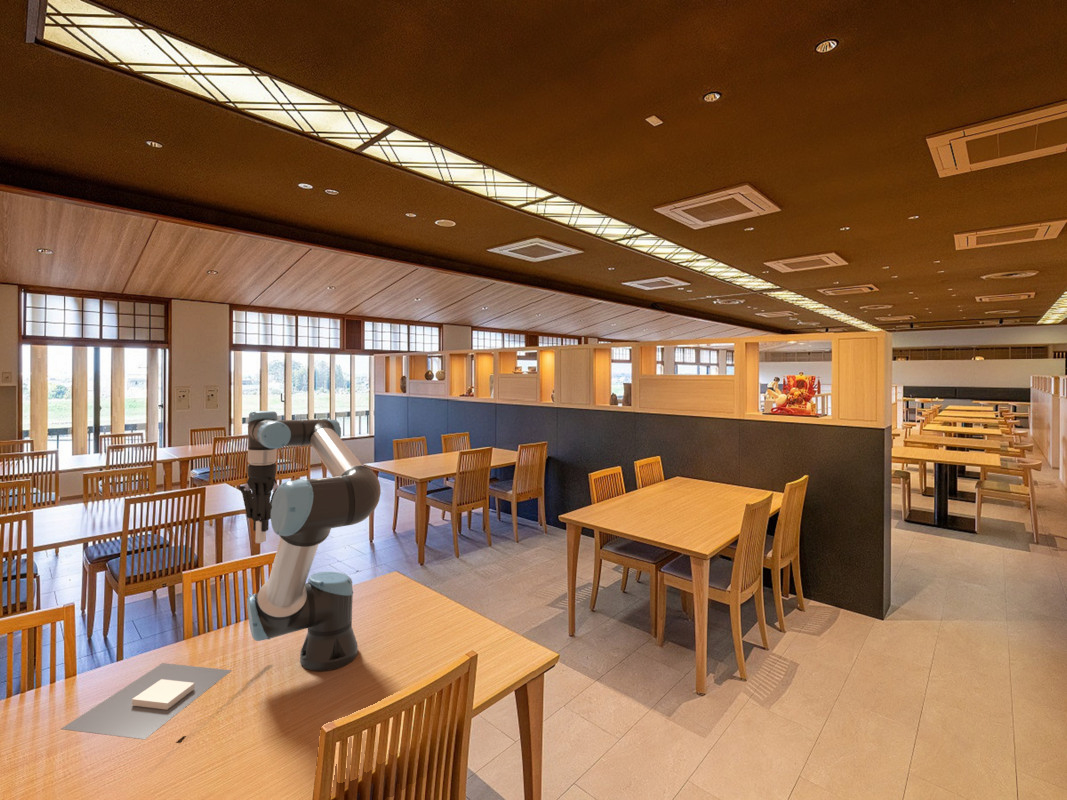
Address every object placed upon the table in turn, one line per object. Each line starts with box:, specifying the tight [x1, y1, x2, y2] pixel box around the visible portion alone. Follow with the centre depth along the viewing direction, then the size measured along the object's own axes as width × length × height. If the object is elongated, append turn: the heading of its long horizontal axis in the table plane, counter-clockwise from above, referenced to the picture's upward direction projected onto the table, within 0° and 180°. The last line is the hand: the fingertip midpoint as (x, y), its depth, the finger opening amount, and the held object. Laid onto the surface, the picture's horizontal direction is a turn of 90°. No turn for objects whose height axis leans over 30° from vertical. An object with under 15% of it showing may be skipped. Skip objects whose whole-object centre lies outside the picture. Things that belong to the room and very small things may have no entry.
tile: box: [132, 679, 195, 710], centre depth 120 cm, size 2×8×9 cm
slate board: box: [60, 662, 233, 740], centre depth 120 cm, size 20×26×1 cm
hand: (260, 541), depth 150 cm, fingers closed
